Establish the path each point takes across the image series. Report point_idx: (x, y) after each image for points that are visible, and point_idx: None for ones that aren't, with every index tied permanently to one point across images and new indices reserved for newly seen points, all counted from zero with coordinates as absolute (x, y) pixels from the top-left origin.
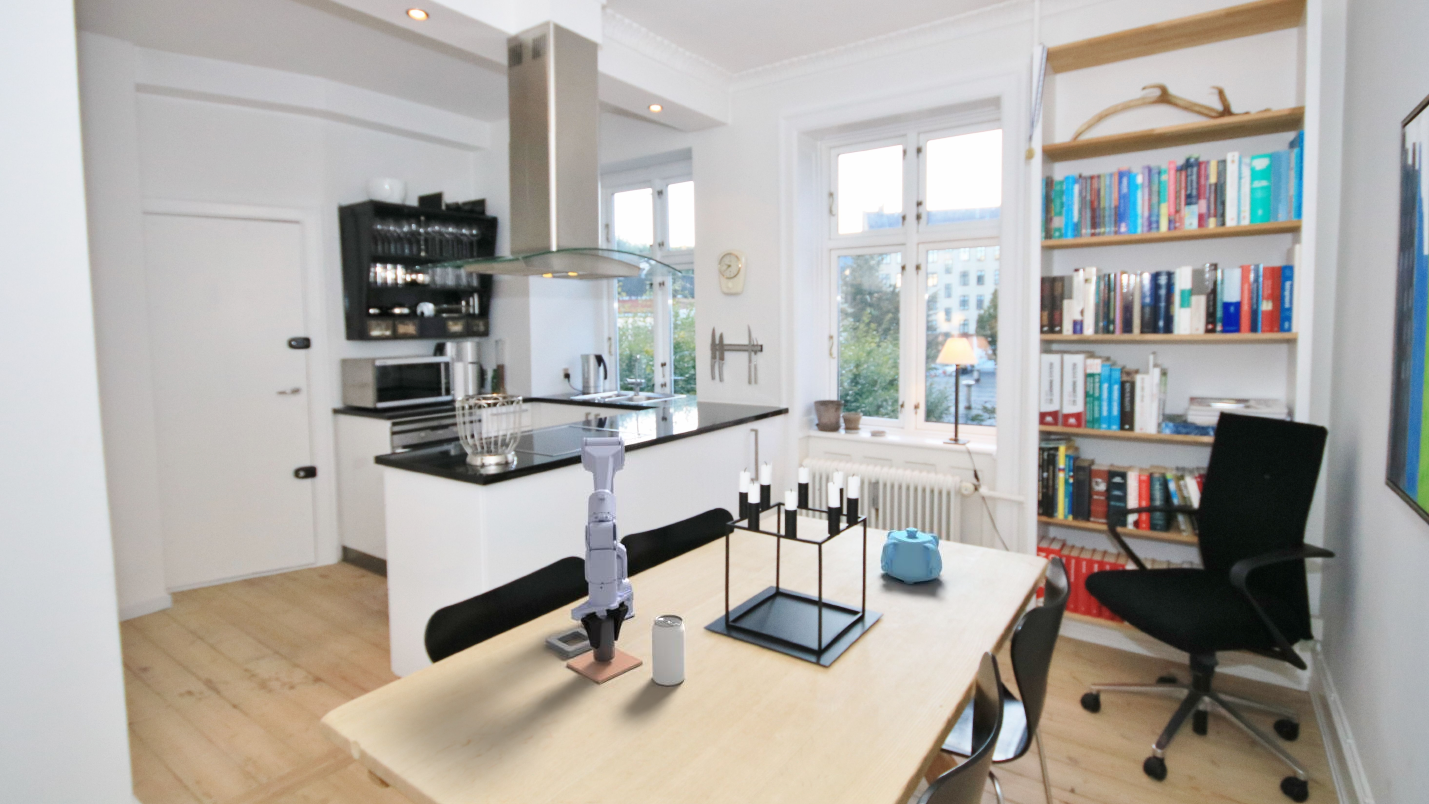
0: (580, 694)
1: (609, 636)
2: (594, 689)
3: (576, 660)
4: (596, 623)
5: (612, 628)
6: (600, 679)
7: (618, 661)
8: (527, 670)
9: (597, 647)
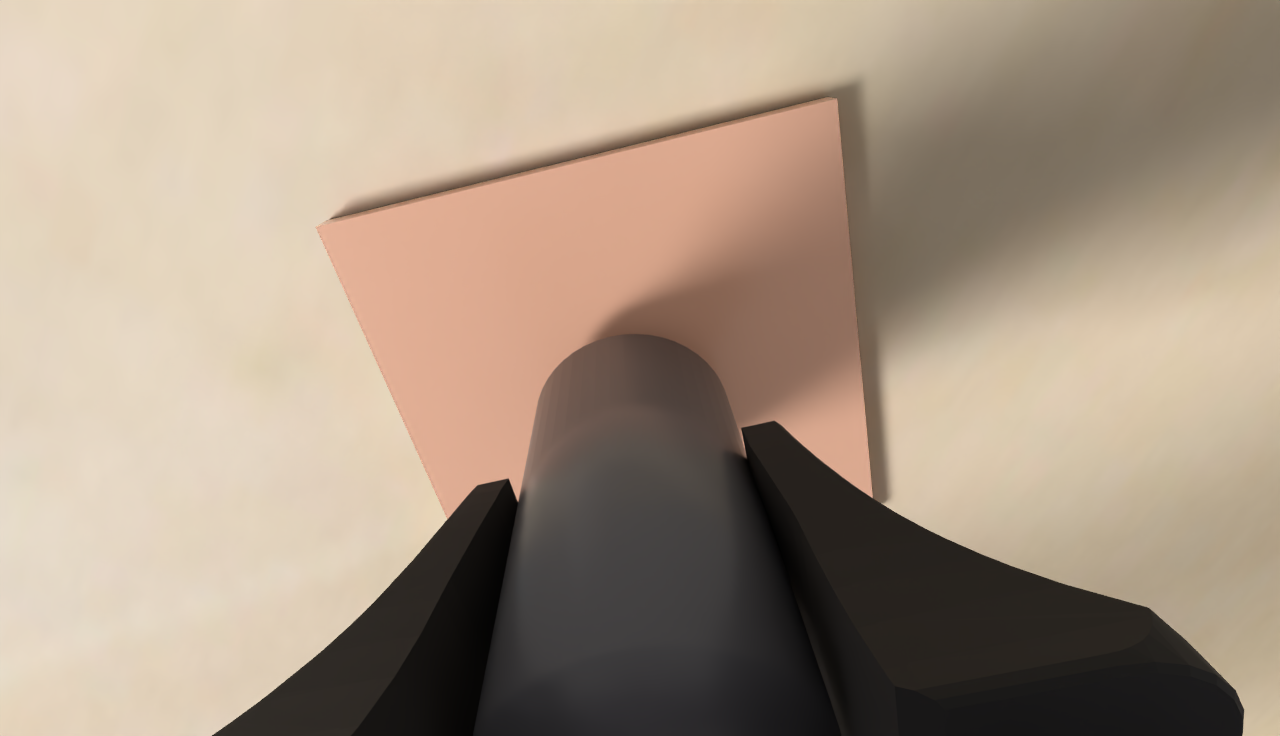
0: (1075, 6)
1: (621, 474)
2: (927, 17)
3: None
4: (1057, 618)
5: (555, 560)
6: (820, 117)
7: (526, 338)
8: (1097, 571)
9: (770, 425)
